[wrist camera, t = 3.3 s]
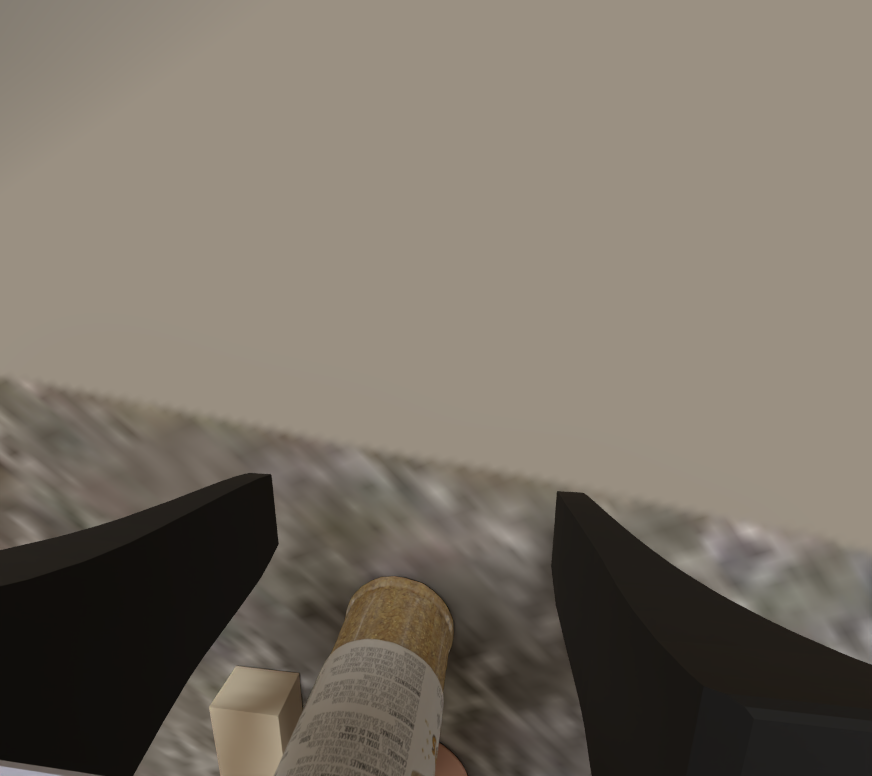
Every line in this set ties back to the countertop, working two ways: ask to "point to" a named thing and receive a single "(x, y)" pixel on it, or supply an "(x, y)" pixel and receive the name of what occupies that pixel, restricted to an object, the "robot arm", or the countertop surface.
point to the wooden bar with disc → (269, 723)
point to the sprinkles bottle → (378, 688)
